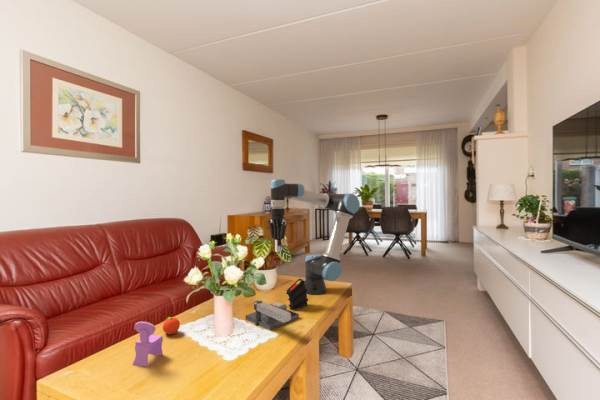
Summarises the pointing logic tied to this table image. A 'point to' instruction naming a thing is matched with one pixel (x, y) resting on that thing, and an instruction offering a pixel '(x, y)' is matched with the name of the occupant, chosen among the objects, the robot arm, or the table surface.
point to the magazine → (297, 295)
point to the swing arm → (272, 311)
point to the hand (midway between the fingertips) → (277, 251)
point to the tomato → (171, 325)
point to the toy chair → (146, 343)
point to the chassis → (269, 321)
